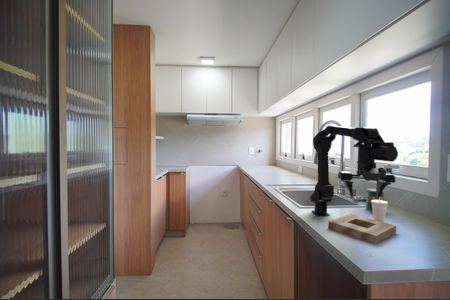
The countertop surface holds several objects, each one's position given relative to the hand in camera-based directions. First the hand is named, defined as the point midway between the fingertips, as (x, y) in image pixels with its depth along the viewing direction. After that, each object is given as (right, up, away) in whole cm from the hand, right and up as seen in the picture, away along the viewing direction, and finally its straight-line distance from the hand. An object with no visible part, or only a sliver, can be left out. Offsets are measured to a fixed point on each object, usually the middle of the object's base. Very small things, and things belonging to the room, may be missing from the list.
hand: (364, 198), depth 91 cm
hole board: (0, -14, +3) cm, 14 cm away
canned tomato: (+24, -13, +31) cm, 41 cm away
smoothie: (+14, -14, +12) cm, 23 cm away
